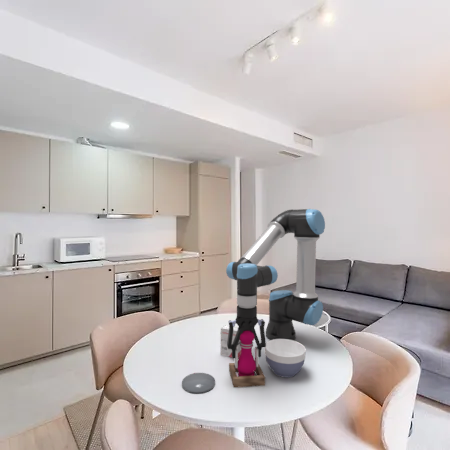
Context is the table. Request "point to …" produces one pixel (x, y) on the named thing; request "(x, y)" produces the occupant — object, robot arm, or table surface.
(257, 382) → the collar
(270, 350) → the bowl
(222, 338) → the ink box
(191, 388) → the coaster
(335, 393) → the table surface
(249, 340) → the pepper mill
